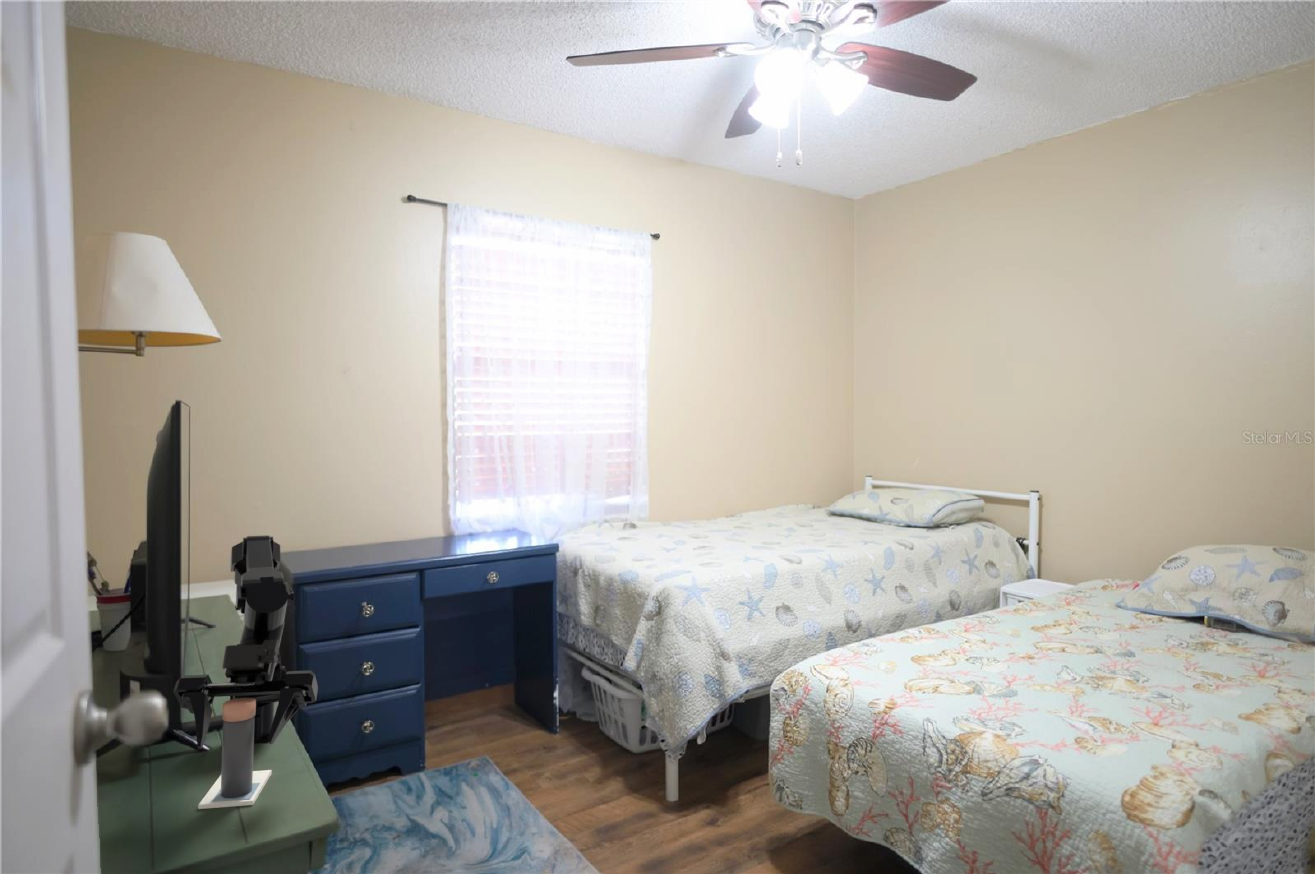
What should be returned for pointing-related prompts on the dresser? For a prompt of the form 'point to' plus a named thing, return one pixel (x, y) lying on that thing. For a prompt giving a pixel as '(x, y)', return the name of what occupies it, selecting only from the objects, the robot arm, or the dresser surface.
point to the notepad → (216, 800)
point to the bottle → (237, 747)
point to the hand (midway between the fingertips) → (235, 745)
